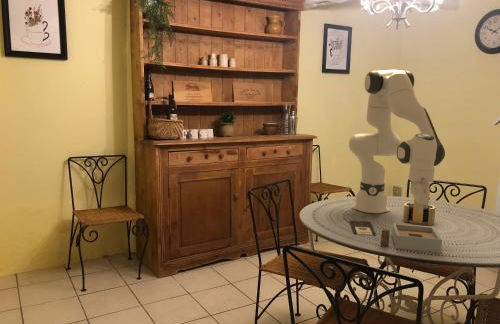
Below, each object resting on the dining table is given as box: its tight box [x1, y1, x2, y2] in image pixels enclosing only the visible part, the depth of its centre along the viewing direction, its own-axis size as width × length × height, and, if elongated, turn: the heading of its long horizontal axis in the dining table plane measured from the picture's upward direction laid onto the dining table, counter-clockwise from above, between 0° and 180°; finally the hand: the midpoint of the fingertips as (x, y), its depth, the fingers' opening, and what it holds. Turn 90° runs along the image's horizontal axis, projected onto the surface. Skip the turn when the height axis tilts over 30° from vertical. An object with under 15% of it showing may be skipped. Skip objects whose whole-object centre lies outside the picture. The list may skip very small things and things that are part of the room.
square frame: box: [391, 222, 443, 254], centre depth 165 cm, size 16×16×5 cm
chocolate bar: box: [349, 220, 377, 237], centre depth 183 cm, size 9×1×18 cm
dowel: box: [412, 196, 425, 224], centre depth 163 cm, size 4×4×10 cm
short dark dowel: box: [380, 228, 391, 248], centre depth 162 cm, size 3×3×6 cm
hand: (418, 211), depth 163 cm, fingers closed on dowel, 4 cm apart
